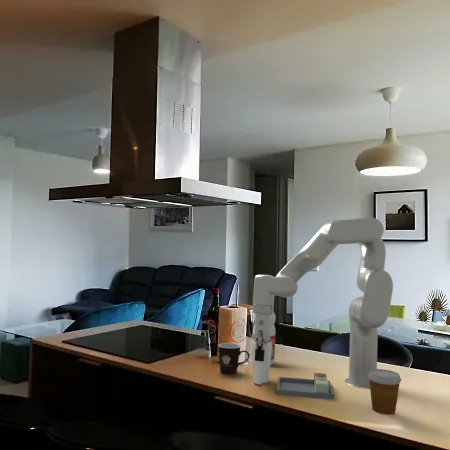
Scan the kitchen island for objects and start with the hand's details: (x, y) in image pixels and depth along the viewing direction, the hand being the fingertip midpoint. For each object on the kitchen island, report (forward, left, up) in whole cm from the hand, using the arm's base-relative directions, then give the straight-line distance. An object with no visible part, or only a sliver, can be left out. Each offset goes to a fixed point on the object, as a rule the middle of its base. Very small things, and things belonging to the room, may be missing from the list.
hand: (260, 357), depth 159 cm
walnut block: (-21, +1, -8) cm, 23 cm away
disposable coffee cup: (-39, +20, -9) cm, 44 cm away
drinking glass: (-1, 0, -9) cm, 9 cm away
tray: (-16, +6, -9) cm, 19 cm away
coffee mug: (+11, -10, -9) cm, 18 cm away
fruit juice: (0, -28, -9) cm, 30 cm away
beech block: (-21, +6, -8) cm, 23 cm away
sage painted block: (-21, +10, -8) cm, 25 cm away
